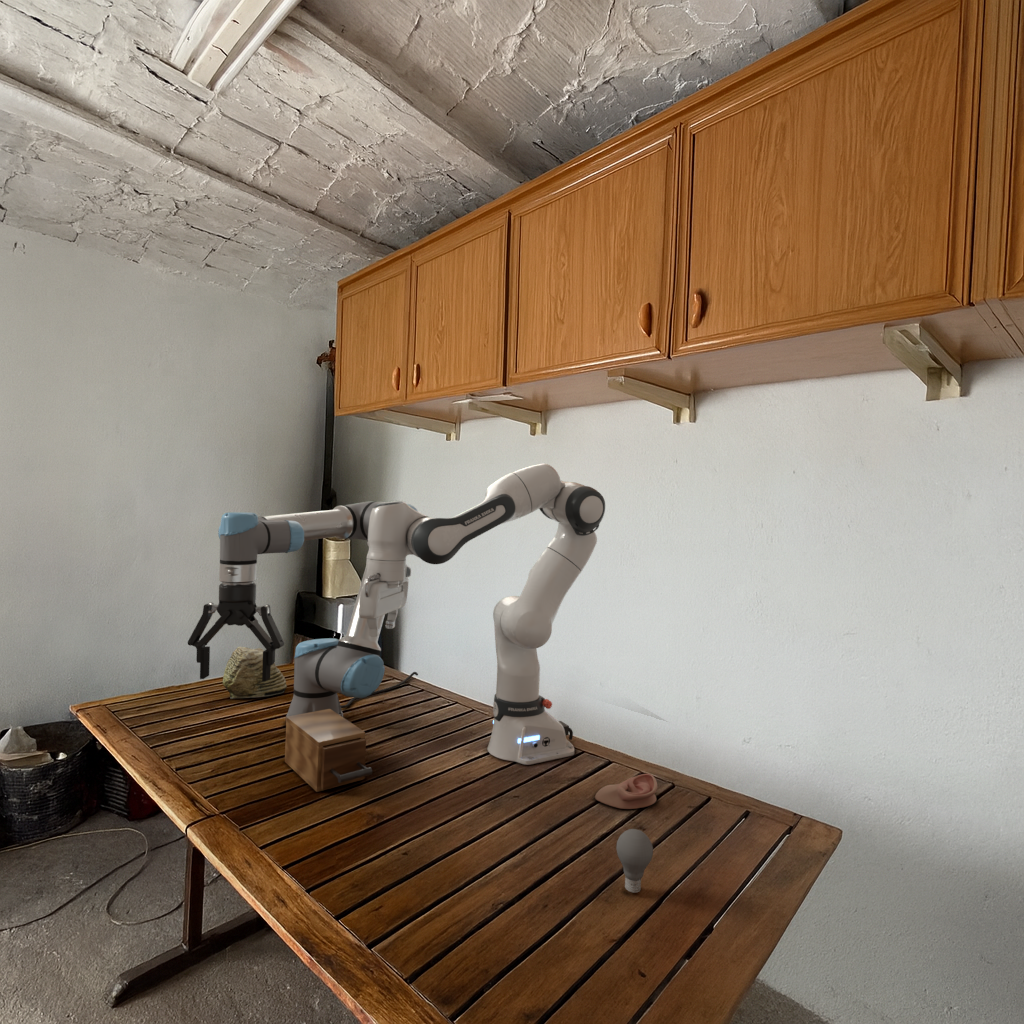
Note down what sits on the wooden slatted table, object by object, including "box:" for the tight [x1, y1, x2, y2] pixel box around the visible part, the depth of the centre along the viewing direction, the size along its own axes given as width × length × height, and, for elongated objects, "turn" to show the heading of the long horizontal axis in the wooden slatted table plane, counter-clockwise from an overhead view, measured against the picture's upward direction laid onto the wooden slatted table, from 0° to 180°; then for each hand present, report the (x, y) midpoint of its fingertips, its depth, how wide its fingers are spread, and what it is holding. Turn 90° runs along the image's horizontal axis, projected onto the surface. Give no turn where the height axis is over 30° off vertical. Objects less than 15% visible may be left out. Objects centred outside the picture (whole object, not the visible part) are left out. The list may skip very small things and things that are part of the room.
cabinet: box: [284, 709, 366, 793], centre depth 146 cm, size 19×11×11 cm, turn 40°
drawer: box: [321, 738, 373, 791], centre depth 142 cm, size 23×10×9 cm, turn 40°
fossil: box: [222, 646, 288, 699], centre depth 198 cm, size 9×18×15 cm, turn 132°
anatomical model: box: [594, 773, 658, 810], centre depth 139 cm, size 13×4×12 cm
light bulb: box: [615, 828, 654, 894], centre depth 106 cm, size 6×6×10 cm
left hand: (235, 678), depth 140 cm, fingers open, 13 cm apart
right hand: (382, 632), depth 144 cm, fingers open, 8 cm apart
